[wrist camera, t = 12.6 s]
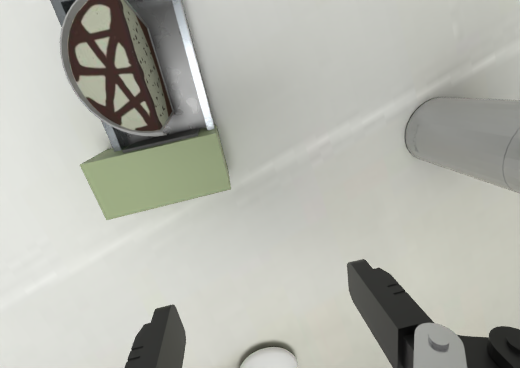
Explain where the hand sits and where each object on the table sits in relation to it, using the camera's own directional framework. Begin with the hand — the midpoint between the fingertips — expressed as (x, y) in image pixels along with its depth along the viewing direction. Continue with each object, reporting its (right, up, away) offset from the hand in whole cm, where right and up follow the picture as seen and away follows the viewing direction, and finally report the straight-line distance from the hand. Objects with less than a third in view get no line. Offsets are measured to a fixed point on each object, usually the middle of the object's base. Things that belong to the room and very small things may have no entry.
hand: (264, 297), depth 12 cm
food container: (-15, +18, +18) cm, 29 cm away
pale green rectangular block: (-12, +8, +23) cm, 27 cm away
